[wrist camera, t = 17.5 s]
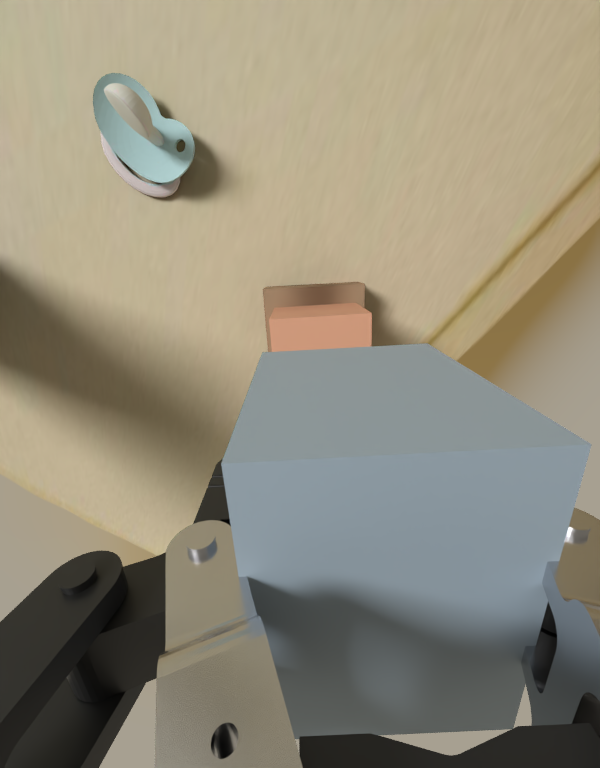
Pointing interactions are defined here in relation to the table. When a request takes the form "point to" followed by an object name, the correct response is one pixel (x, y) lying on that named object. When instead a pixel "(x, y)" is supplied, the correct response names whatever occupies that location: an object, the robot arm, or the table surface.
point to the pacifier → (140, 136)
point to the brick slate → (396, 535)
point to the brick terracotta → (320, 327)
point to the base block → (310, 297)
